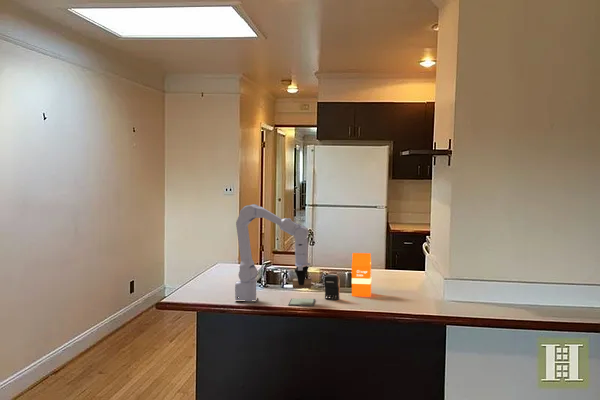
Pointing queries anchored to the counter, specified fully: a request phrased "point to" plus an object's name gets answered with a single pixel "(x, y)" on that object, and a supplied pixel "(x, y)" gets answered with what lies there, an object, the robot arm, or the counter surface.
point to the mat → (302, 302)
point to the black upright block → (332, 287)
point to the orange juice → (361, 274)
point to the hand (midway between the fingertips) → (301, 283)
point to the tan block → (306, 285)
